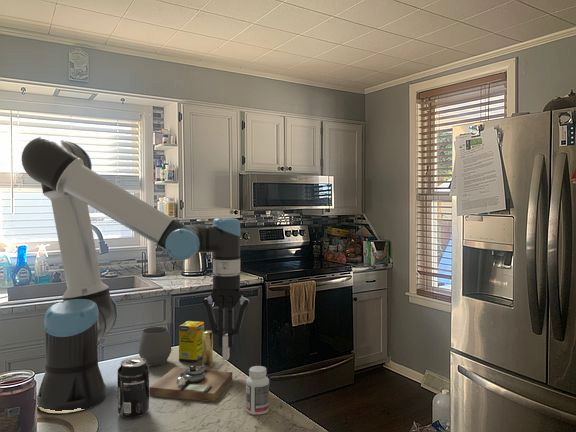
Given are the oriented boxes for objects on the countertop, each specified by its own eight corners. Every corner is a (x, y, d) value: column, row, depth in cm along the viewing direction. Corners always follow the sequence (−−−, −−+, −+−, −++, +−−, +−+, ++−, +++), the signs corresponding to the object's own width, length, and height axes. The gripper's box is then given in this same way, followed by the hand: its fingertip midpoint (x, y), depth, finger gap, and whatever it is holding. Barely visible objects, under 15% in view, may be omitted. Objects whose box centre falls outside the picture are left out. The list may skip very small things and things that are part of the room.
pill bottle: (272, 406, 109) (272, 365, 109) (264, 417, 104) (265, 374, 103) (250, 403, 110) (250, 363, 110) (242, 413, 105) (242, 371, 105)
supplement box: (197, 362, 138) (197, 326, 137) (178, 361, 139) (178, 325, 139) (204, 356, 144) (204, 321, 143) (186, 354, 145) (186, 320, 144)
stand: (149, 395, 115) (149, 385, 115) (174, 374, 128) (174, 365, 128) (213, 401, 111) (213, 391, 111) (232, 379, 125) (232, 371, 125)
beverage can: (128, 405, 109) (128, 355, 108) (154, 408, 107) (154, 357, 107) (111, 419, 102) (111, 365, 102) (139, 422, 101) (139, 368, 100)
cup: (134, 361, 138) (134, 328, 138) (164, 355, 144) (164, 324, 143) (145, 371, 131) (145, 336, 130) (176, 364, 136) (176, 331, 136)
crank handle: (190, 391, 112) (190, 351, 111) (166, 388, 113) (166, 349, 113) (220, 365, 129) (220, 331, 129) (199, 363, 131) (199, 329, 130)
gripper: (200, 275, 124) (199, 362, 124) (248, 276, 123) (247, 363, 124) (205, 271, 131) (205, 353, 132) (251, 272, 131) (250, 354, 131)
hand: (225, 358), depth 128 cm, fingers closed
